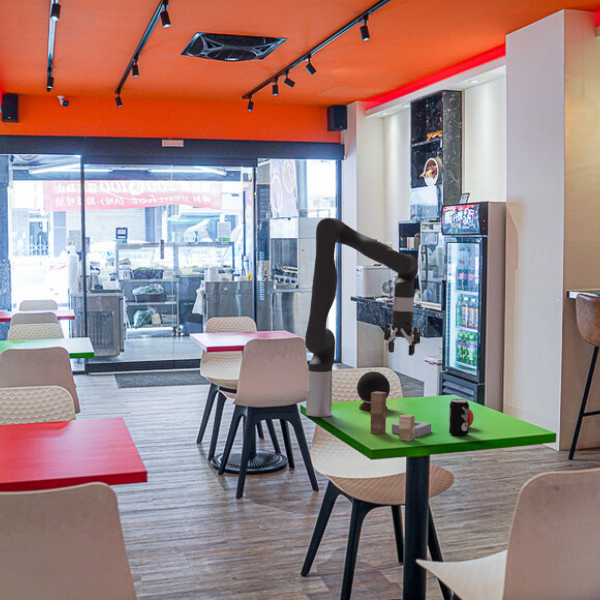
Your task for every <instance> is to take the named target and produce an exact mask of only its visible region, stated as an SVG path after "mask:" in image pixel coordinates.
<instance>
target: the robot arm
mask: <svg viewBox="0 0 600 600" xmlns="http://www.w3.org/2000/svg"><path fill="white" fill-rule="evenodd" d="M337 243H338V244H340V245H341V244H342V245H345V246H347V247H350V248H352V249H354V250H355V251H357V252H359V253H360V254H362V255H363V256H365V257H366V258H368V259H371V260H372V261H374V262H376V263H379V264H381V265H384V266H385V267H386V268H388V269H390V270H391V271H392V272H395V273H398V275H397V280H396V281H395V283H394V291H393V293H394V294H393V300H392V315H391V316H392V317H391V319H392V320H391V321H392V323H385V325H384V331H383V332H384V335H383V340H386V341H387V342H388V345H387V347H388V348H387V351H388V353H391V354H392V353H394V352H395V341H396V339H397V338H403V339H405V340H406V341H407V342H408V344H409V345H408V356H409V357H410V356H414V354H415V351H416V349H415V348H416V345H418V344H420V343H421V327H419V326H416V327H415V326H413V323H414V309H415V308H414V306H415V301H414V300H415V299H414V298H415V297H414V293H415V291H414V290H415V287H414V285H415V281H416V277H417V271H418V262H417V260H416V258H415V257H414V256H413V254H412V255H411V254H405V253H402V252H399V251H397V250H394V249H393V248H392V247H391V246H389V245H387V244H385V243H383V242H380V241H379V240H376V239H374V238H372V237H369V236H367V235H365V234H362V233H360V232H359V231H357V230H355V229H353V228H352V227H350V226H349V225H348V224H346V223H344V222H343V221H341V220H340V219H339V218H335V217H325V218H322V219H320V220H319V221H318V223H317V225H316V230H315V258H314V267H313V277H312V286H311V297H310V308H309V316H308V322H307V323H308V324H307V328H306V333H305V335H304V336H305V338H304V343H305V344H304V345H305V347H306V349H307V351H308V352H309V353H311V354H312V357H311V360H310V361H309V362H308V365H307V389H306V393H305V394H306V396H305V402H306V403H305V415H306V416H310V417H314V418H326V417H327V418H328V417H330V416H332V415H333V414H332V413H333V412H332V411H333V409H332V408H333V366H334V364H335V358H336V357H335V356H336V355H335V354H336V338H335V335H334V333H333V331H332V330H331V329H330V328H327V321H328V316H329V313H330V311H331V308H332V307H333V304H334V302H335V299H336V296H337V290H338V289H337V288H338V272H337V271H338V270H337V267H336V262H335V261H336V260H335V249H336V244H337Z"/></svg>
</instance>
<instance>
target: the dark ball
mask: <svg viewBox="0 0 600 600" xmlns="http://www.w3.org/2000/svg"><path fill="white" fill-rule="evenodd" d="M356 391H357V394H358V396H359V398H360V400H362V401H363V402H362V403H360V405H359V406H358V409H359V410H360V411H364V412H370V411H371V393H372V392H376V391H378V392H386V399H388V396H389V395H390V391H391V384H390V381H389V380H388V378H387V377H386V376H385V375H384V374H383V373H381V372H378V371H374V370H373V371H368V372H366V373H364V374H363V375H361V376H360V378H359V380H358V381H357V386H356ZM387 410H388V407H387V406H386V411H387Z"/></svg>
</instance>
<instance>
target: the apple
mask: <svg viewBox="0 0 600 600" xmlns="http://www.w3.org/2000/svg"><path fill="white" fill-rule="evenodd" d="M474 419H475V416H474V413H473V411H472V410H471V409H470V408H469V427H470V426H472V424H473V422H474Z"/></svg>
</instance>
